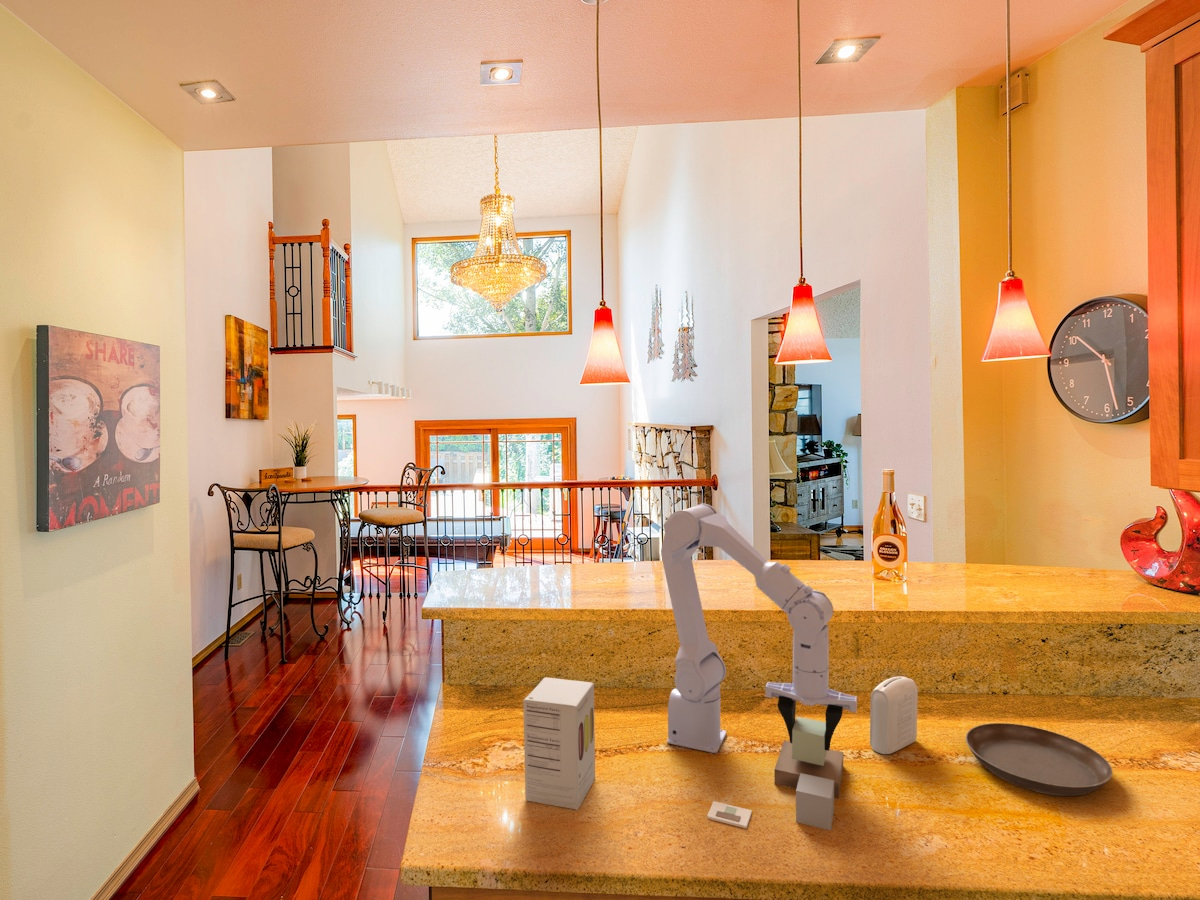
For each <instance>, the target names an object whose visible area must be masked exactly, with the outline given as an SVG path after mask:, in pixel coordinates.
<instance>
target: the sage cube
mask: <svg viewBox="0 0 1200 900" xmlns="http://www.w3.org/2000/svg"><path fill="white" fill-rule="evenodd" d="M825 737H826V721H822V720H816V719H812V718H807V717H802V716H796V717H795V724H794V727H793V730H792V759H795V760H800V761H804V762H809V763H813V764H817V765H822V766H824V761H825V757H826V753H827V750H825Z"/></svg>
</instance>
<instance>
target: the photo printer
mask: <svg viewBox="0 0 1200 900" xmlns="http://www.w3.org/2000/svg"><path fill="white" fill-rule="evenodd" d="M918 691H919V690H918V686H917V683H916V682H915V681H914V680H913V679H912V678H910V677H909V678H908V677H907V676H902V675H900V676H894V677H890V678H887V679H885V680H883V681H882V682H880V683H879V684H878V685H877V686H876V687H875V688H874V689H873V690H872V691H871V695H870V713H869V714H870V715H869V716H870V717H869V718H870V719H869V745H870V747H871V748H872V750H873V751H875V752H876V753H878V754H881V755H890V754H893V753H896V752H897V751H899V750H902V749H904V748H905V747H907V746H909V745H911V744H913V743H915V741H916V740H917V737H918V736H917V735H918V734H917V733H918V727H917V726H918V693H919V692H918Z"/></svg>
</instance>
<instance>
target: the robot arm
mask: <svg viewBox="0 0 1200 900" xmlns="http://www.w3.org/2000/svg"><path fill="white" fill-rule="evenodd" d="M663 530H664V536H663V541H662V544H661V550H660V556H661V560H662V565H663V569H664V573H665V574H664V575H665V578H666V584H667V588H668V593H669V597H670V603H671V606H672V612H673V613H672V614H673V617H674V621H675V625H676V626H675V627H676V631H677V636H678V641H679V645H680V646H679V648H678V651H677V653H676V656H675V659H674V663H675V670H676V671H675V673H674V685H675V688H673V689H672V690H671V691H670V695H669V699H668V705H667V735H668V736H667V737H668V738H667V739H666V742H667V743H668V744H671V745H673V746H674V745H675V746H680V747H685V748H688V749H694V750H699V751H704V752H708V753H712V754H717V753H718V752H719V750H720V748H721V745H722V744H723V741H724V739H725V738H726V736H727V731H726V730H724V729H721V682H722V681H724V680H725V678H726V675H727V667H726V664H725V662H724V660H723V659H722V657H721V656H720V653H719V651H718V647H717V644H716V643H714V641H712V640H710V639H709V634H708V630H707V629H708V628H707V625H706V620H705V615H704V611H703V607H702V602H701V597H700V592H699V587H698V583H697V577H696V574H695V569H694V565H693V558H692V557H693V555H694V553H695V552H696V551H697V549H698V548H699V547H711V548H713V547H714V548H715V547H716V548H719V549H721V550H722V551H723V552H724V553H726V555H728V556H730V558H732V559H733V560H735V562H737V563H738V564H739V565H741V567H743V568H744V569H745V570H747V571H748V572H749V573H751V575H753V576H754V581H755V586H756V587H757V589H759V590H760V591H761V592H762V593H763V594H764V595H765V596H767V598H769V599H770V600H771V601H772V602H773V603H774V604H775V605H776V606H778V608H780V609H781V610H782V611H783V612H784V613H785V614H786V615H787V621H788V623H789V624H790V627H791V628H792V629H793V633H792V635H793V636H792V683H791V682H769V681H767V682H766V683H765V689H764V690H765V692H764V693H765V695H764V696H765V698H769V699H772V698H777V699H778V702H777V710H778V711H779V713H780V715H781V717H782V719H783V720H784V721H783V722H784V724H785V726H786V729H787V733H788V737H789V741H790V743H792V730H793V727H794V724H795V721H796V706H797V701H798V702H800V704H801V705H804V706H805V705H806V706H809V707H810V706H811V707H814V706H815V705H819V706H826V709H825V717H824V718H825V722H826V737H825V750H828V751H829V749H831V741H832V738H833V735H834V733H835V730H836V728H837V726H838V724H839V723H840V721H841V719H842V717H843V711H844V710H847V711H849V712H851V713H854V714H856V713H857V708H858V706H857V705H858V696H857V695H851V694H846V693H844V692H840V691H837V690H834V689H831V688H829V674H830V673H829V669H830V668H829V664H830V663H829V661H830V659H829V657H830V655H829V654H830V652H829V650H830V640H829V628H830V627H829V625H828V623H829V622H830V621H831V620H832V618H833V615H834V607H833V603H832V602H831V600H830V598H829V597H828V596H827V595H826V593H824V592H822V591H820V590H817V589H814V588H813V587H811V586H810V585H809V584H808V585H806V584H805V583H804V582H803V581H801V580H800V579H799V578H798V577H797V576H796V575H794V573H792V572H791V567H790V566H789V565H787V564H786V563H784V564H782V563H780V562H779V561H768V560H767V559H766V558H765V557H764V556H763V555H762V554H761V553H760V552H759V551H758V550H756V549H755V548H754V547H753V545H751V543H750V542H748V541H747V539H745V538H744V537H743V536H742V535H741V534H740V533H739V532H738V531H737V529H735V528H734V527H733V526H732V525H731V524H730V523H729V521H728V520H727V518H726V517H725V516H724V514H722V513H720V512H718V511H717V510H716V508H715V507H714V506H712V505H710V504H707V503H700V504H697V505H695V506H692V507H689V508H685V509H678V510H676V511H674V512H673V513H672V514H671V515H670V516H669V517H668V519H667V520H666V521H665V522H664V524H663Z"/></svg>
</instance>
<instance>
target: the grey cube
mask: <svg viewBox="0 0 1200 900" xmlns="http://www.w3.org/2000/svg"><path fill="white" fill-rule="evenodd" d="M834 812H835V798H834V780H831V779H826V778H821V777H817V776H812V775H807V774H803V773H800V777H799V781H798V785H797V789H795V822H796V823H798V824H799V823H800V824H804V825H806V826H807V825H808V826H810V827H816V828H820V829H823V830H828V831H832V828H833V827H832V825H833V819H834Z"/></svg>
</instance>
